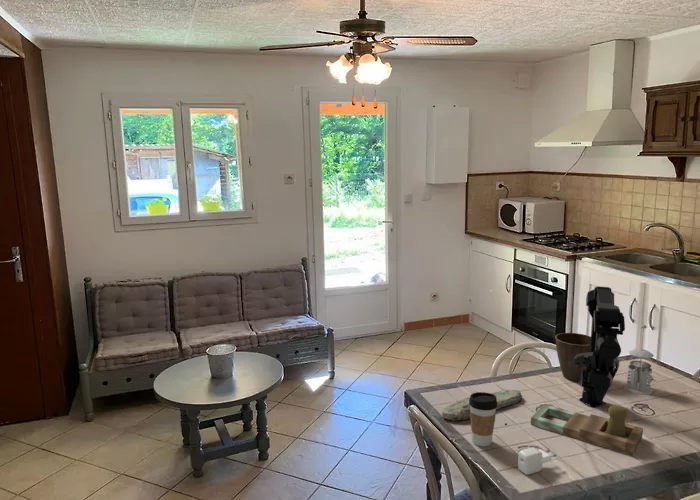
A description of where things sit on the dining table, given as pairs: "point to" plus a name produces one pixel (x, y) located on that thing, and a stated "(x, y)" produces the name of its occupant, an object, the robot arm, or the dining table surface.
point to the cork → (617, 421)
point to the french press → (639, 372)
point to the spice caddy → (587, 429)
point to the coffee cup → (482, 417)
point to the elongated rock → (462, 407)
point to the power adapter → (533, 460)
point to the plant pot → (571, 353)
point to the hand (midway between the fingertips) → (602, 396)
